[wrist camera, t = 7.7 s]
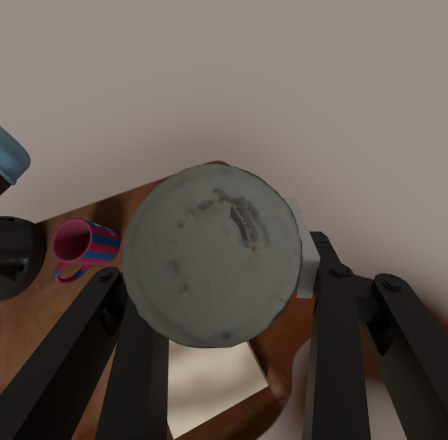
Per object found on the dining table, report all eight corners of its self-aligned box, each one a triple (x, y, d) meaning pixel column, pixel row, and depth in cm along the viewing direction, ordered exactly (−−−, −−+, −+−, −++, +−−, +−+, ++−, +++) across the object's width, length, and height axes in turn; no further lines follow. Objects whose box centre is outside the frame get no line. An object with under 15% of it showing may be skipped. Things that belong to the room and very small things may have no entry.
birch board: (129, 293, 35) (122, 294, 33) (203, 251, 35) (200, 250, 33) (178, 428, 29) (173, 439, 27) (267, 378, 30) (268, 385, 28)
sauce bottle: (277, 242, 24) (384, 107, 5) (277, 301, 22) (435, 460, 3) (219, 239, 25) (111, 118, 6) (216, 296, 23) (49, 398, 4)
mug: (127, 238, 38) (101, 230, 31) (94, 289, 36) (59, 292, 30) (100, 221, 39) (69, 210, 33) (67, 269, 38) (28, 268, 31)
